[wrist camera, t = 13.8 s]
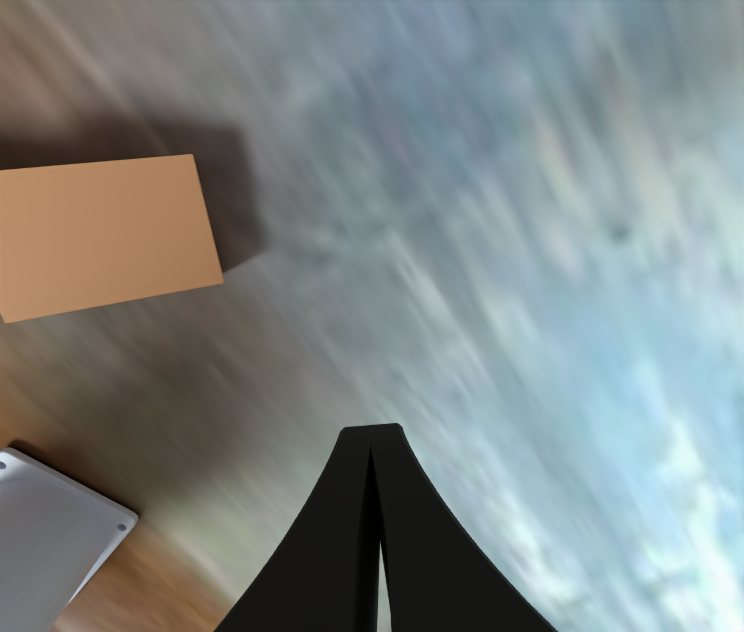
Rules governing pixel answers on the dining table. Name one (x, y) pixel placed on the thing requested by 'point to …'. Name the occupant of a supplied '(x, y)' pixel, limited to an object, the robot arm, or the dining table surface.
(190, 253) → the domino
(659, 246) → the dining table surface
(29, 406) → the dining table surface
